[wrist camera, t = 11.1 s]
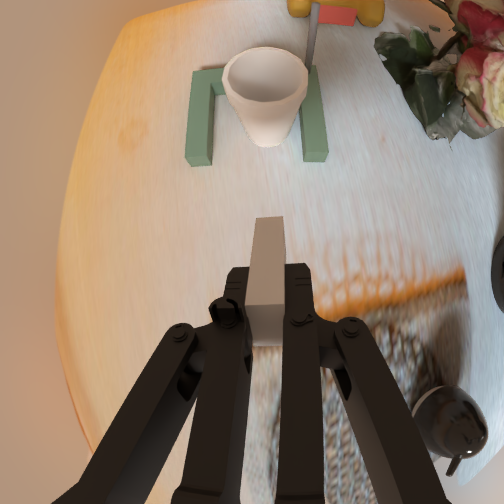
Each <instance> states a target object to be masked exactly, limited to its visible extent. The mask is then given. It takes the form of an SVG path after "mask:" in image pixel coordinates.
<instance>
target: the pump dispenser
mask: <svg viewBox="0 0 504 504" xmlns="http://www.w3.org/2000/svg"><path fill="white" fill-rule="evenodd" d="M412 416H413V419H414V421H415V423H416V425H417V427H418V430H419V432H420V434H421V436H422V439H423V441H424V443H425V446H426V448H427V450H429V451H431V452H433V453H435V454H437V455H439V456H442V457H446V458H451V459H452V461H451V463H450V465H449V468H448V470H447V472H446V476H449V477H450V476H452V475H453V474H454V472H455V470H456V469H457V467H458V465H459V463H460V462H461V460H462V459H468V458H471V457H474V456H475V455H477V454H478V453H479V452H480V451H481V450H482V449H483V448H484V446H485V444H486V442H487V439H488V426H487V422H486V419H485V417H484V415H483V413H482V411H481V409H480V407H479V406H478V404H477V403H476V402H475V400H474V399H473V398H472V397H471V396H470V395H469V394H468V393H466V392H465V391H464V390H463V389H461V388H460V387H458V386H455V385H447V386H439V387H436V388H433V389H431V390H429V391H428V392H426V393H425V394H424V395H423V396H422V397H421V398H420V399H419V400H418V402H417V403H416V405H415V407H414V409H413V411H412Z"/></svg>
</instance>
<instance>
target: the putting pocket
mask: <svg viewBox="0 0 504 504" xmlns="http://www.w3.org/2000/svg"><path fill="white" fill-rule="evenodd" d="M357 11H358V10H357V9H354V8H347V7H338V6H329V5H320V3H318V2H312V6H311V16H310V25H309V34H308V42H307V50H306V59H305V67H306V68H307V70H308V86H307V92H306V97H305V98H304V100H303V101H302V103H301V105H300V107H299V116H300V126H301V137H302V149H303V161H304V162H325V160H326V157H327V155H328V153H329V151H328V142H327V134H326V127H325V119H324V112H323V106H322V99H321V93H320V87H319V81H318V75H317V70H316V65H312V59H313V53H314V46H315V40H316V33H317V26H318V23H327V24H338V25H347V26H353V25H354V22H355V18H356V14H357ZM223 72H224V68H217V69H208V70H200V71H193V75H192V83H191V92H190V101H189V111H188V122H187V134H186V147H185V159H186V160H187V161H188V163H189V164H190V165H191V167H195V166H208V165H212V142H213V119H214V100H215V95H224V94H226V93H225V90H224V86H223V83H222V76H223Z"/></svg>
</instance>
